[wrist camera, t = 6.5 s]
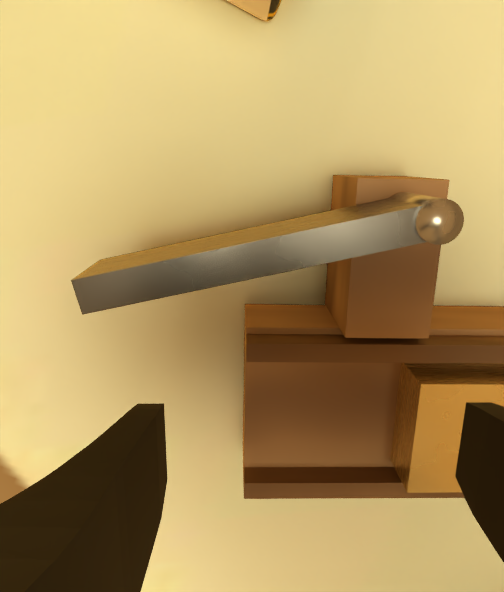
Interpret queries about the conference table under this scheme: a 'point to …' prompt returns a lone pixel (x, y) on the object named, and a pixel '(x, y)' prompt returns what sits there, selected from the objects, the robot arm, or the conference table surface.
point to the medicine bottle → (258, 7)
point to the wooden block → (437, 419)
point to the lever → (268, 250)
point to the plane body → (351, 363)
